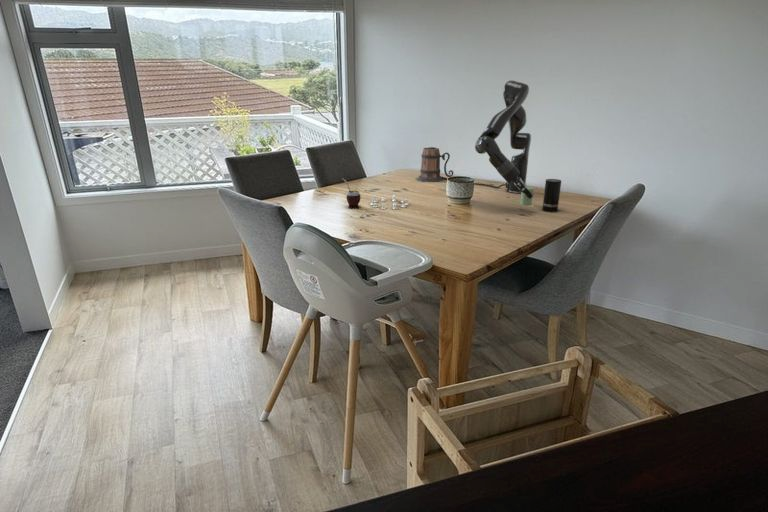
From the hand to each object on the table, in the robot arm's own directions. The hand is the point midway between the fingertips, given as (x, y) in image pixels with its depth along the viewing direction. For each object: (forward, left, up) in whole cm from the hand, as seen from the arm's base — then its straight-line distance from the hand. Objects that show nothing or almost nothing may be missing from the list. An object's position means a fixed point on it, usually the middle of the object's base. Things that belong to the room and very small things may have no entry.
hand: (530, 195), depth 229 cm
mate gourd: (-75, -45, -9) cm, 87 cm away
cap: (-2, -1, -4) cm, 5 cm away
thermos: (+6, +11, -8) cm, 15 cm away
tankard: (-80, +42, -9) cm, 90 cm away
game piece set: (-64, -29, -8) cm, 70 cm away
